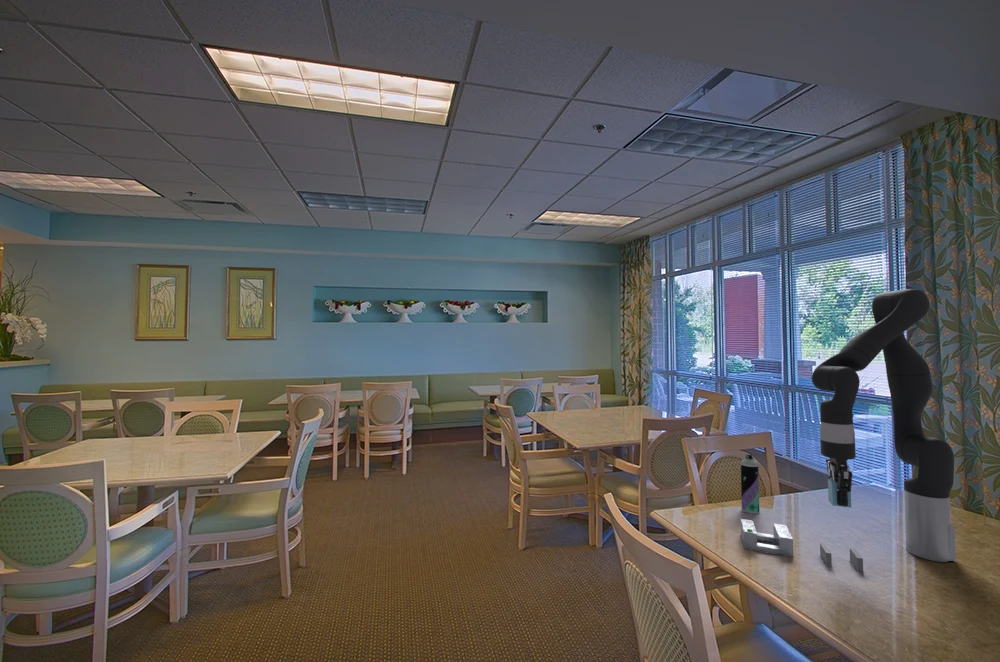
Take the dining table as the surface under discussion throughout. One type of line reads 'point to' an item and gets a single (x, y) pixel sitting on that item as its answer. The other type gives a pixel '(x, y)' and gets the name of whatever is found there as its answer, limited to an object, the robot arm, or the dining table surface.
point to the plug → (833, 493)
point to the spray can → (750, 485)
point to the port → (767, 539)
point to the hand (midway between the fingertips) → (839, 502)
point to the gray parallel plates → (854, 557)
